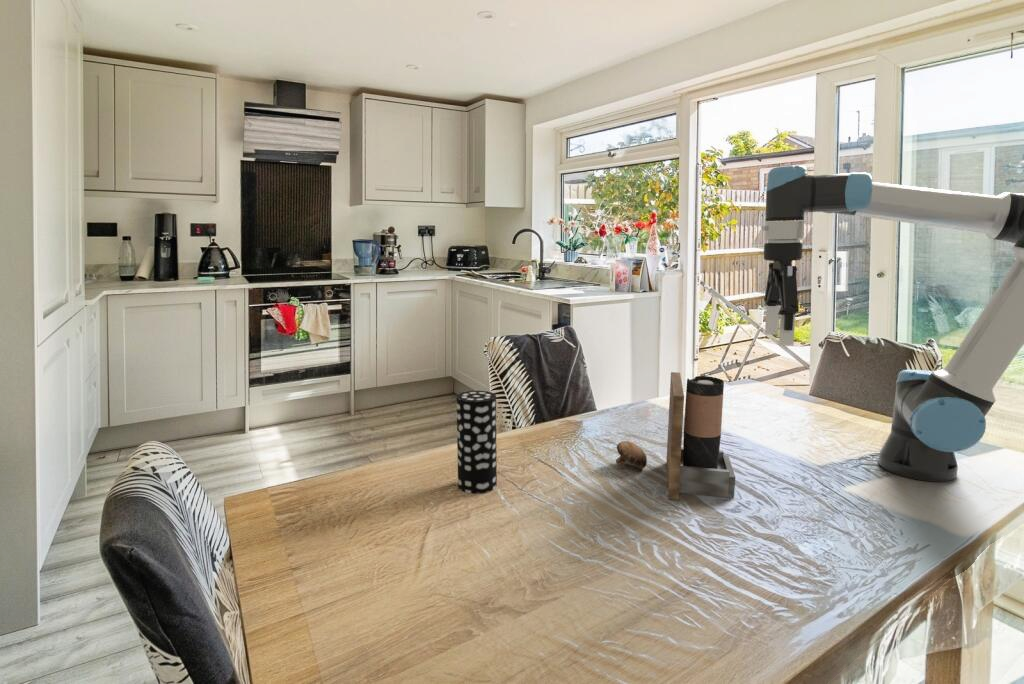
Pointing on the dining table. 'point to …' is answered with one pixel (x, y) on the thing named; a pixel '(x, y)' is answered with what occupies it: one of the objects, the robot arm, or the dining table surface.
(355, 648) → the dining table surface
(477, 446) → the white-spotted black cylinder
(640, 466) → the mushroom
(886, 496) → the dining table surface
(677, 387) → the l-shaped stand
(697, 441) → the travel mug
